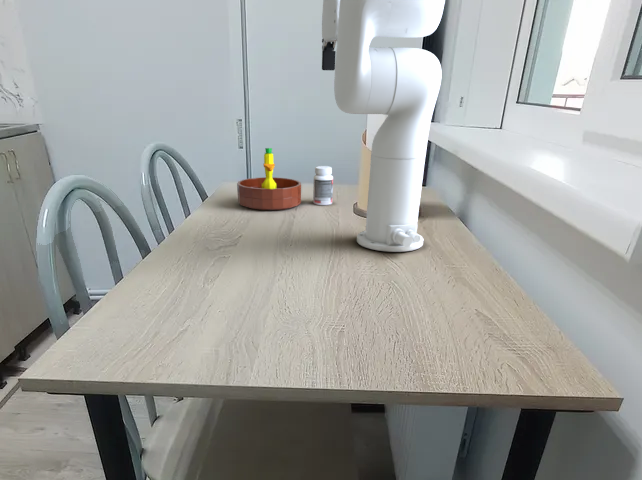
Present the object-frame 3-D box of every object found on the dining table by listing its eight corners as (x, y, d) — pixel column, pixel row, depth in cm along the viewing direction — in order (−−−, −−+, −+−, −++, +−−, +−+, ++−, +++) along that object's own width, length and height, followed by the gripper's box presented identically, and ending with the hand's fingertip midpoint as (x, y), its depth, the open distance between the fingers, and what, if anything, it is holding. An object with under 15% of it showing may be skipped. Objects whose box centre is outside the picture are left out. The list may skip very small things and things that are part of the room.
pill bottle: (335, 204, 129) (337, 168, 125) (317, 206, 128) (318, 169, 123) (327, 200, 133) (328, 165, 129) (310, 202, 131) (310, 166, 127)
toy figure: (278, 204, 125) (277, 150, 119) (263, 205, 125) (261, 150, 119) (275, 198, 131) (275, 146, 125) (261, 199, 131) (260, 146, 125)
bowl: (308, 209, 124) (309, 187, 122) (245, 213, 120) (244, 190, 118) (290, 196, 137) (290, 176, 134) (232, 199, 133) (231, 178, 130)
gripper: (370, -26, 109) (364, 71, 118) (340, -15, 123) (337, 70, 132) (336, -28, 107) (333, 70, 116) (310, -17, 121) (308, 70, 130)
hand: (335, 70), depth 124 cm, fingers open, 9 cm apart
